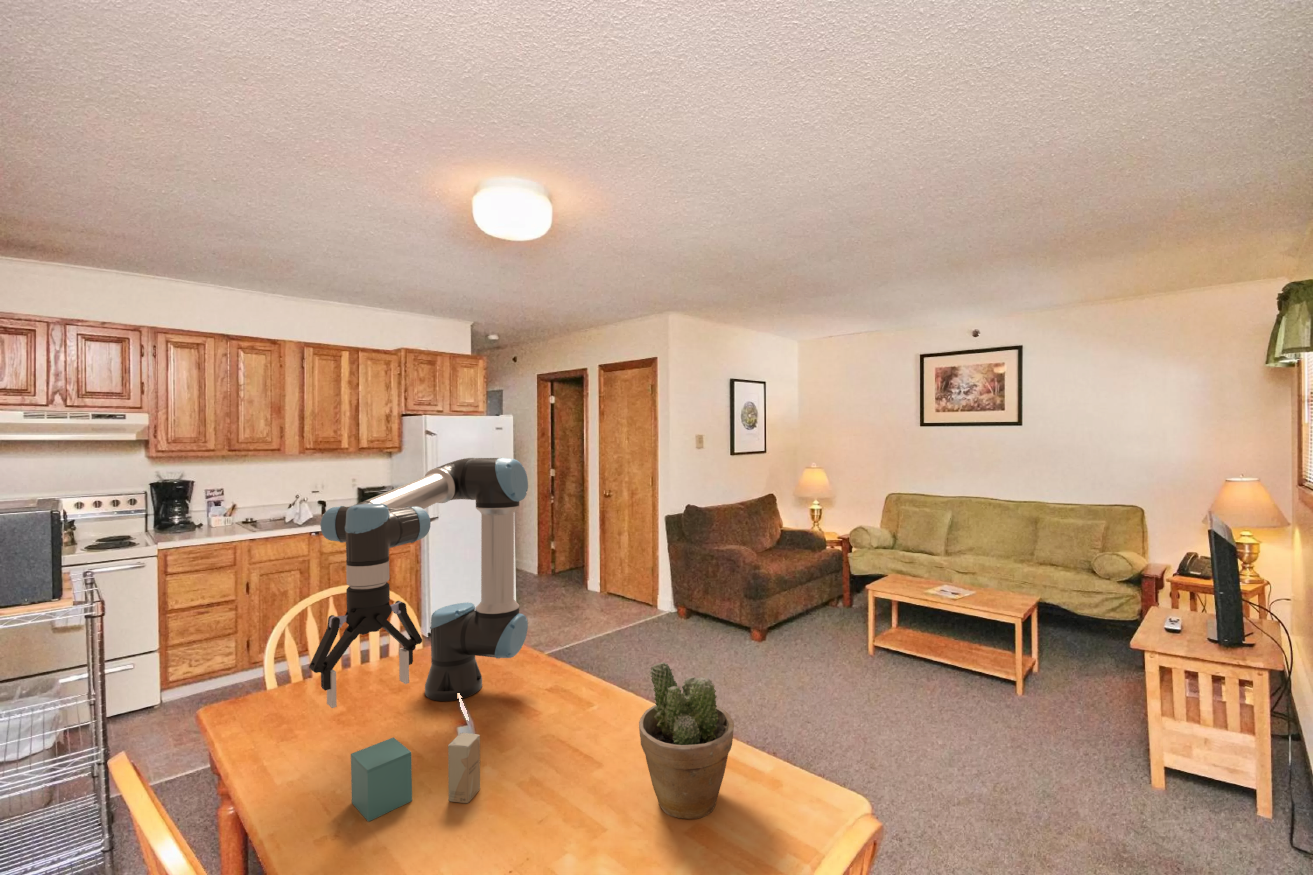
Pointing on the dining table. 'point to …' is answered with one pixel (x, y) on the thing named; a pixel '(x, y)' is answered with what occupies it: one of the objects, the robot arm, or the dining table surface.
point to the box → (464, 767)
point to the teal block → (381, 778)
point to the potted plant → (685, 744)
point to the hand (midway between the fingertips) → (369, 693)
